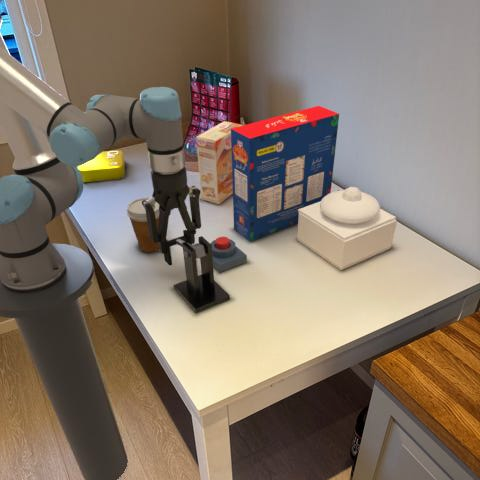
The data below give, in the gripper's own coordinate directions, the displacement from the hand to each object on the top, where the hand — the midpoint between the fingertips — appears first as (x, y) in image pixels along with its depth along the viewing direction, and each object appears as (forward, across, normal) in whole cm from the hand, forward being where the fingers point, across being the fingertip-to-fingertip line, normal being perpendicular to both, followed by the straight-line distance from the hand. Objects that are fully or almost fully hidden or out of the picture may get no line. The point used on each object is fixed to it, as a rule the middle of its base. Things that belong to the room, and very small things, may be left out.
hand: (178, 258), depth 118 cm
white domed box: (+4, +42, -13) cm, 44 cm away
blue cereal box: (+4, +36, +6) cm, 37 cm away
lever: (-6, 0, -6) cm, 8 cm away
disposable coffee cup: (+4, -1, +15) cm, 16 cm away
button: (0, +12, -1) cm, 12 cm away
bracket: (+4, 0, -11) cm, 11 cm away
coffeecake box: (+4, +31, +31) cm, 44 cm away
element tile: (+5, +5, +68) cm, 69 cm away
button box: (+4, +12, -1) cm, 13 cm away
